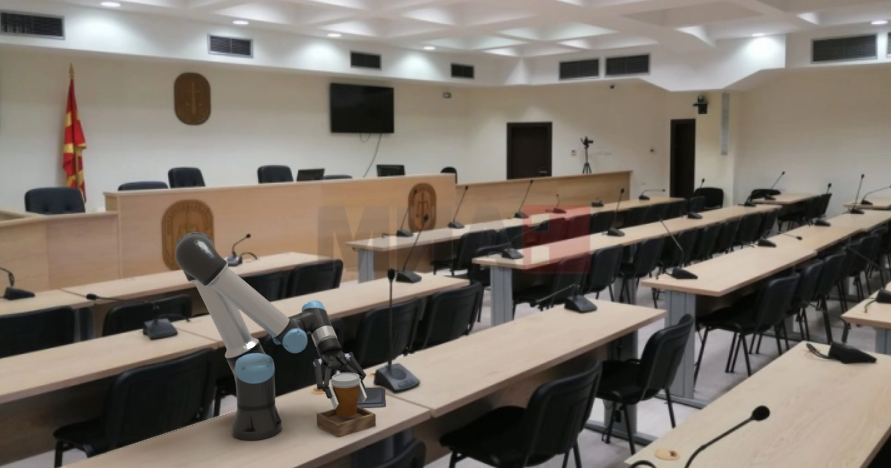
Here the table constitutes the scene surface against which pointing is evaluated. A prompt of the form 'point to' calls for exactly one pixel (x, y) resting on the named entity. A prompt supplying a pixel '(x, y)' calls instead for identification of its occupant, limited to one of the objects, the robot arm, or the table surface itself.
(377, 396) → the wallet
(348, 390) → the disposable coffee cup
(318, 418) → the tray
